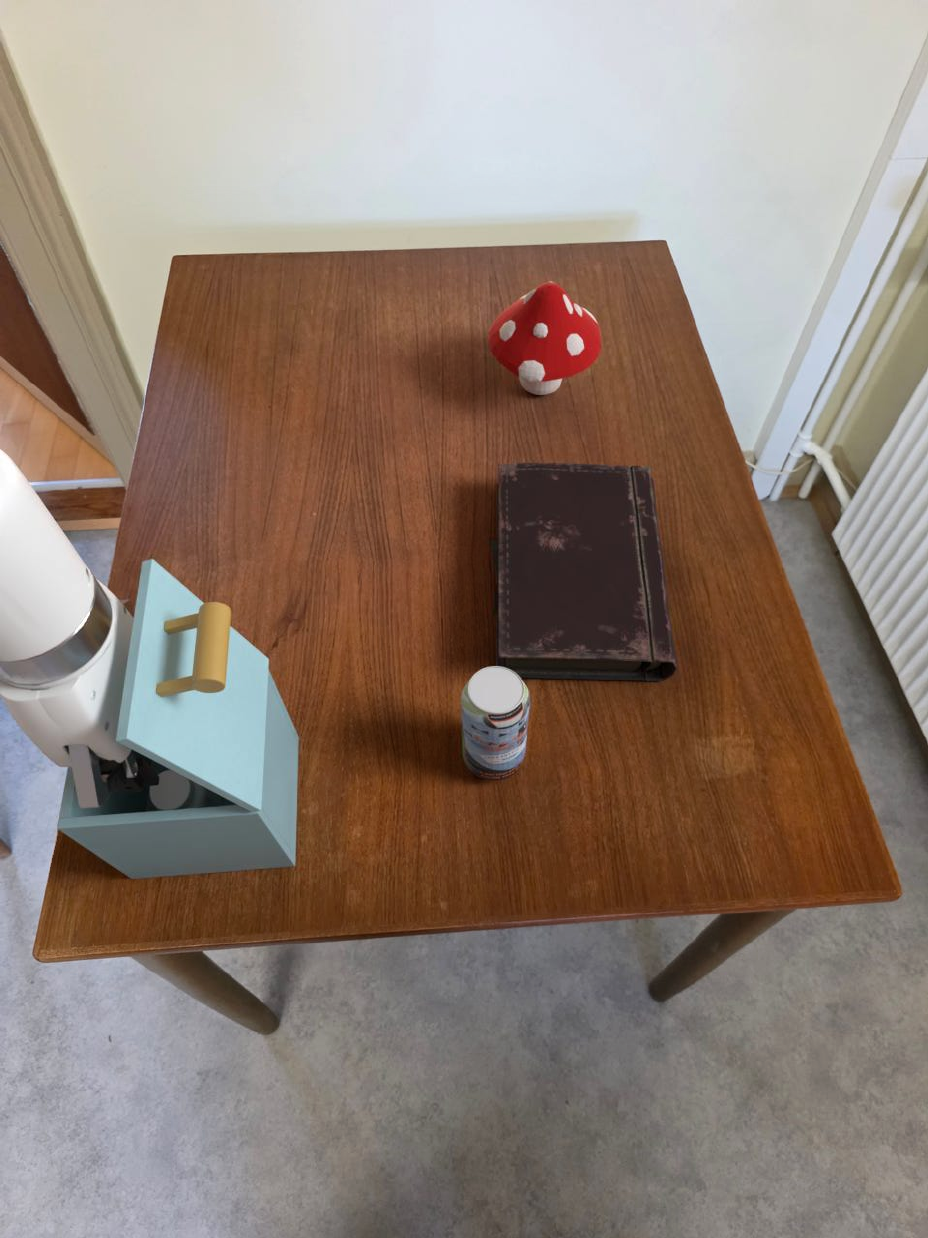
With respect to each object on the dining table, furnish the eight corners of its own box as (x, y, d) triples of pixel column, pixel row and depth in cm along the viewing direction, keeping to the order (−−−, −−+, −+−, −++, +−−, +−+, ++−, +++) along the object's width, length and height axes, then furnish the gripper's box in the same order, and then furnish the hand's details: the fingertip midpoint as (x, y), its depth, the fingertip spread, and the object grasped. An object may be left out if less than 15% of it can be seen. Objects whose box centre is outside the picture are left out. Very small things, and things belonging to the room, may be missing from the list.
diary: (647, 492, 96) (656, 463, 91) (670, 683, 83) (682, 660, 79) (489, 489, 96) (491, 460, 92) (488, 679, 83) (490, 656, 79)
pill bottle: (170, 787, 76) (138, 772, 68) (216, 773, 76) (190, 757, 69) (178, 833, 74) (147, 823, 67) (226, 819, 74) (200, 807, 67)
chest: (131, 879, 73) (56, 828, 59) (148, 747, 79) (83, 674, 66) (295, 866, 73) (258, 813, 60) (298, 737, 80) (265, 662, 66)
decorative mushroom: (564, 336, 109) (577, 234, 97) (615, 404, 103) (637, 304, 90) (469, 366, 106) (470, 265, 94) (515, 438, 100) (524, 339, 87)
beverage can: (471, 793, 77) (473, 745, 67) (451, 723, 81) (450, 668, 70) (534, 776, 78) (546, 726, 68) (512, 708, 81) (519, 651, 71)
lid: (115, 741, 47) (196, 723, 46) (142, 561, 53) (213, 541, 52) (251, 812, 60) (317, 800, 58) (260, 660, 66) (320, 647, 65)
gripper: (5, 505, 51) (110, 643, 66) (-65, 767, 42) (76, 857, 58) (126, 498, 51) (203, 637, 67) (82, 757, 42) (183, 848, 58)
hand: (143, 738), depth 62 cm, fingers open, 6 cm apart
